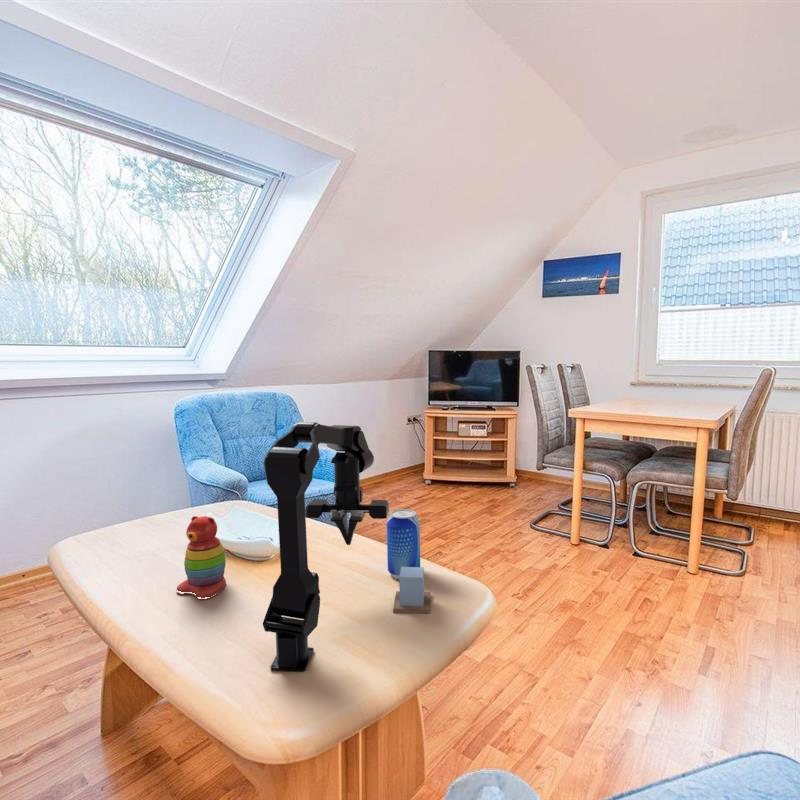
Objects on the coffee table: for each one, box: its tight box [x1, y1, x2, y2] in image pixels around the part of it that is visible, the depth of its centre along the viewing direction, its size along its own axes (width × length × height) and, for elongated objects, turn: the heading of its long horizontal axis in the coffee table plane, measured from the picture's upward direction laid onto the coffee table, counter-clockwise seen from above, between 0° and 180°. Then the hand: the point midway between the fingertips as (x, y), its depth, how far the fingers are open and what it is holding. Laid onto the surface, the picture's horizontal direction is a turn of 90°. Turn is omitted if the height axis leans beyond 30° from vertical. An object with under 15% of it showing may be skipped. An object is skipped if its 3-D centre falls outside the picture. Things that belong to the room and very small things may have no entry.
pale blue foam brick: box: [398, 566, 425, 606], centre depth 112 cm, size 5×5×7 cm
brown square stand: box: [392, 590, 431, 614], centre depth 112 cm, size 8×8×6 cm
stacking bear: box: [176, 515, 227, 598], centre depth 121 cm, size 11×10×18 cm
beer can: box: [386, 508, 421, 580], centre depth 127 cm, size 8×8×16 cm
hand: (348, 544), depth 116 cm, fingers closed
